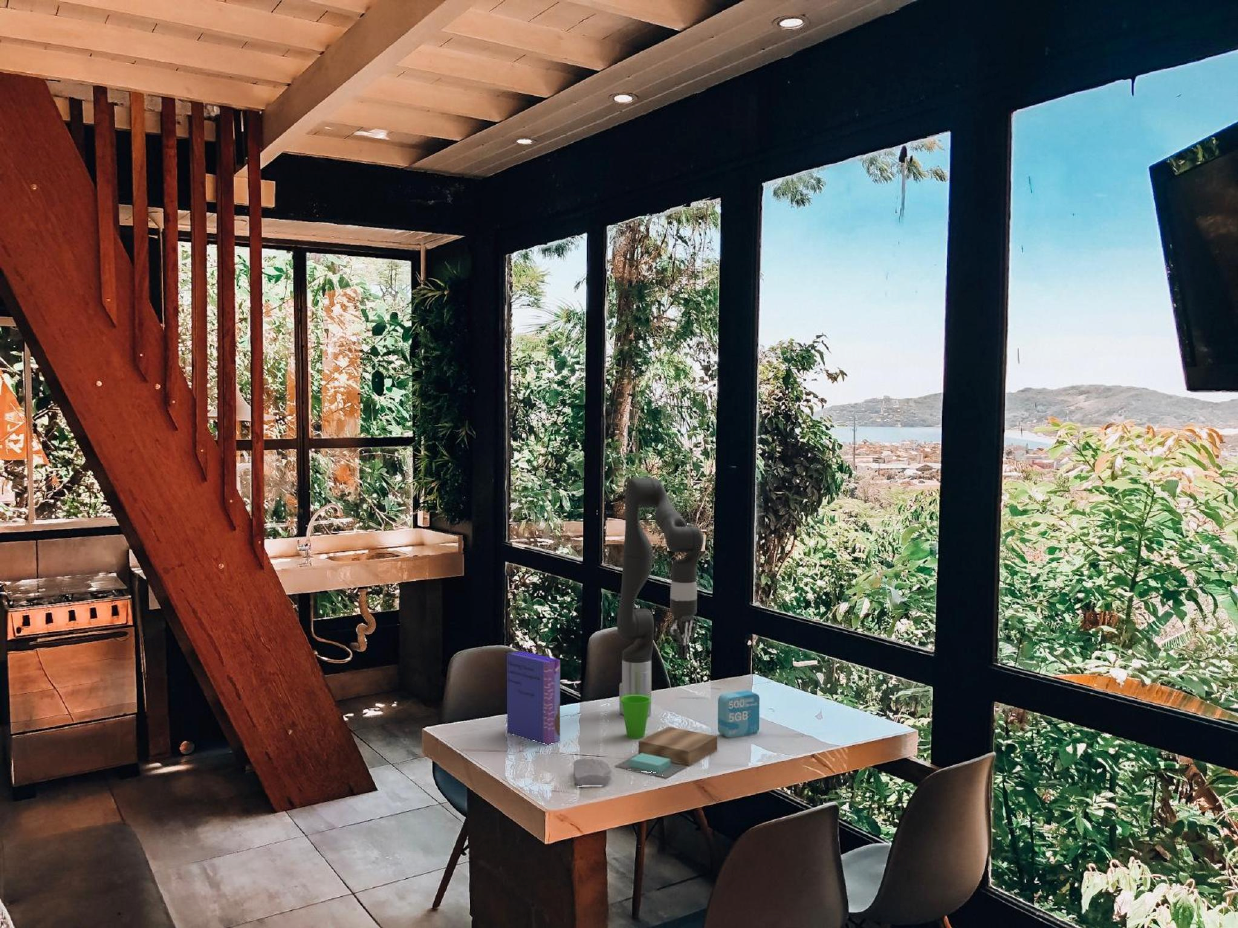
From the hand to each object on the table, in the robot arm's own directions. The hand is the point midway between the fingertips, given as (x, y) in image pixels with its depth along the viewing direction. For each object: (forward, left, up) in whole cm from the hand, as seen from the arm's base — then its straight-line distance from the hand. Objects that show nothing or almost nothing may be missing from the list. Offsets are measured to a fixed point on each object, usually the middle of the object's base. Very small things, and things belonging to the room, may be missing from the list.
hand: (682, 657), depth 280 cm
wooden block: (+2, -6, -25) cm, 26 cm away
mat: (+2, -20, -25) cm, 33 cm away
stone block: (-5, -36, -26) cm, 45 cm away
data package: (+8, +19, -26) cm, 33 cm away
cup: (-16, 0, -26) cm, 30 cm away
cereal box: (-40, -18, -26) cm, 51 cm away
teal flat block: (+2, -21, -23) cm, 31 cm away
